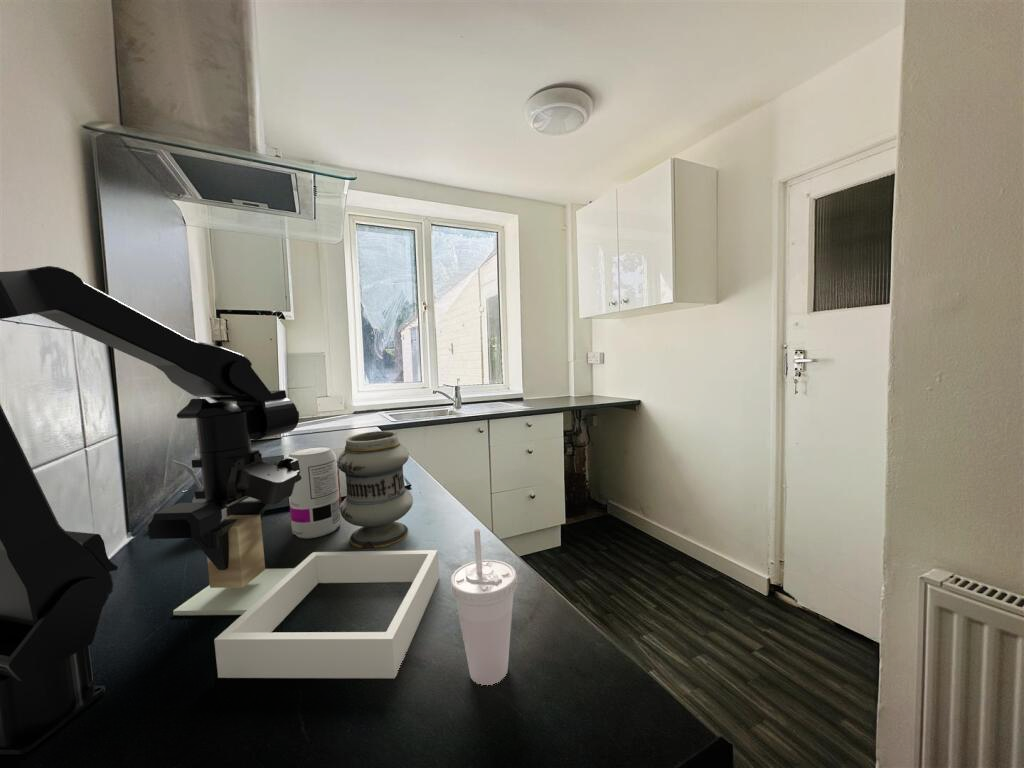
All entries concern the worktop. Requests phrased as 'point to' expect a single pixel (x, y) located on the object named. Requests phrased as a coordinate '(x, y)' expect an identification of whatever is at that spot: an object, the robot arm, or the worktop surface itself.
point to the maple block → (241, 554)
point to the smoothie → (485, 614)
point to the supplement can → (315, 493)
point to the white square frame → (329, 654)
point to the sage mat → (232, 596)
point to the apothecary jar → (375, 488)
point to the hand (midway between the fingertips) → (236, 560)
